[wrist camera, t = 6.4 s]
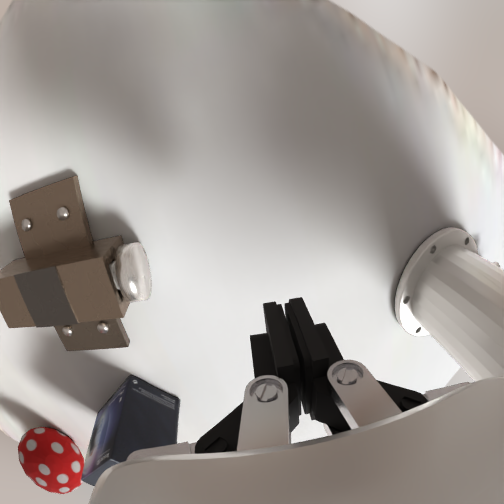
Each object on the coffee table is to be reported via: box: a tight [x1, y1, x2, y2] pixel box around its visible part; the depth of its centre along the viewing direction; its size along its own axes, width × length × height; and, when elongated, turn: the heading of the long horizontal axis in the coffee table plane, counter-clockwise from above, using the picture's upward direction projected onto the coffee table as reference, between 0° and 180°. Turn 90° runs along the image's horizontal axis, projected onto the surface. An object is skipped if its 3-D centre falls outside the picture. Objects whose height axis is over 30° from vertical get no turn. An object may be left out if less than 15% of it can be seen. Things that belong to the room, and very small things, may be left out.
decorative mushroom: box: [18, 427, 85, 494], centre depth 25 cm, size 11×11×15 cm
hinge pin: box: [109, 242, 152, 302], centre depth 18 cm, size 14×4×4 cm, turn 97°
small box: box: [81, 375, 180, 486], centre depth 21 cm, size 11×6×10 cm, turn 138°
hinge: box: [0, 176, 130, 351], centre depth 18 cm, size 12×15×4 cm
